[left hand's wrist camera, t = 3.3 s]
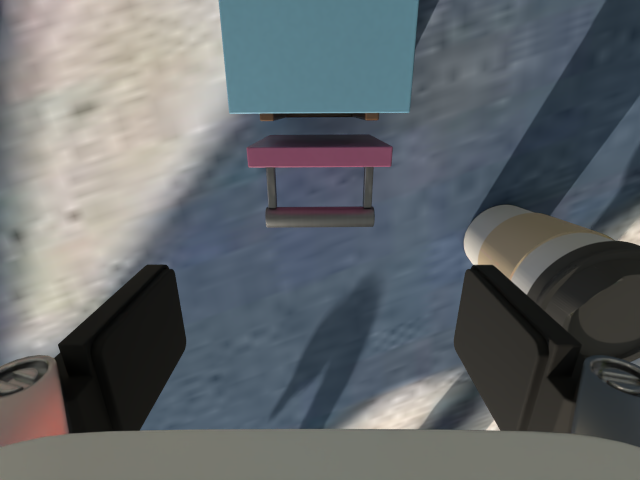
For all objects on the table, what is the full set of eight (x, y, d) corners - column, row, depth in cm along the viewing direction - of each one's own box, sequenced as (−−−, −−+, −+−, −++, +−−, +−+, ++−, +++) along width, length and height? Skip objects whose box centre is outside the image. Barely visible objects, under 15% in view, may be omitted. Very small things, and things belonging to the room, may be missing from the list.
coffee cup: (562, 237, 34) (733, 327, 20) (487, 294, 36) (593, 410, 22) (510, 173, 32) (662, 224, 18) (434, 238, 34) (514, 329, 20)
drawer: (366, 206, 32) (385, 246, 23) (273, 207, 32) (254, 247, 23) (380, -104, 24) (419, -239, 15) (255, -103, 24) (215, -238, 15)
